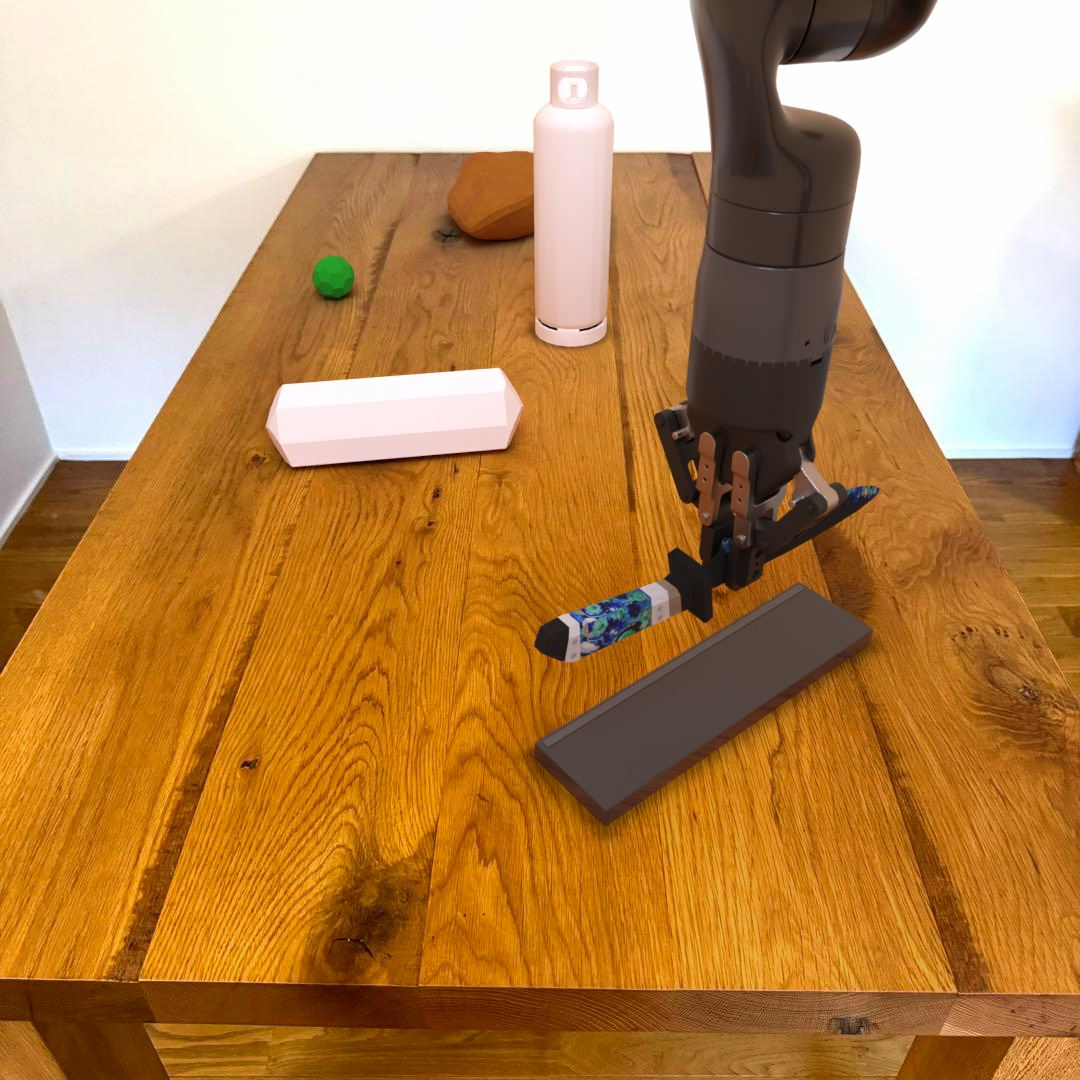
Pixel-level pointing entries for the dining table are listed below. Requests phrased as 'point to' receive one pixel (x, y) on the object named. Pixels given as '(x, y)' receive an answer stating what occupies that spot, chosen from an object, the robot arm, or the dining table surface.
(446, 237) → the dining table surface
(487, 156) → the orange brown rock
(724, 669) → the slate board
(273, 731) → the dining table surface
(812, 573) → the dining table surface
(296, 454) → the crystal
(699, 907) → the dining table surface
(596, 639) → the knife
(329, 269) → the polyhedron
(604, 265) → the bottle
